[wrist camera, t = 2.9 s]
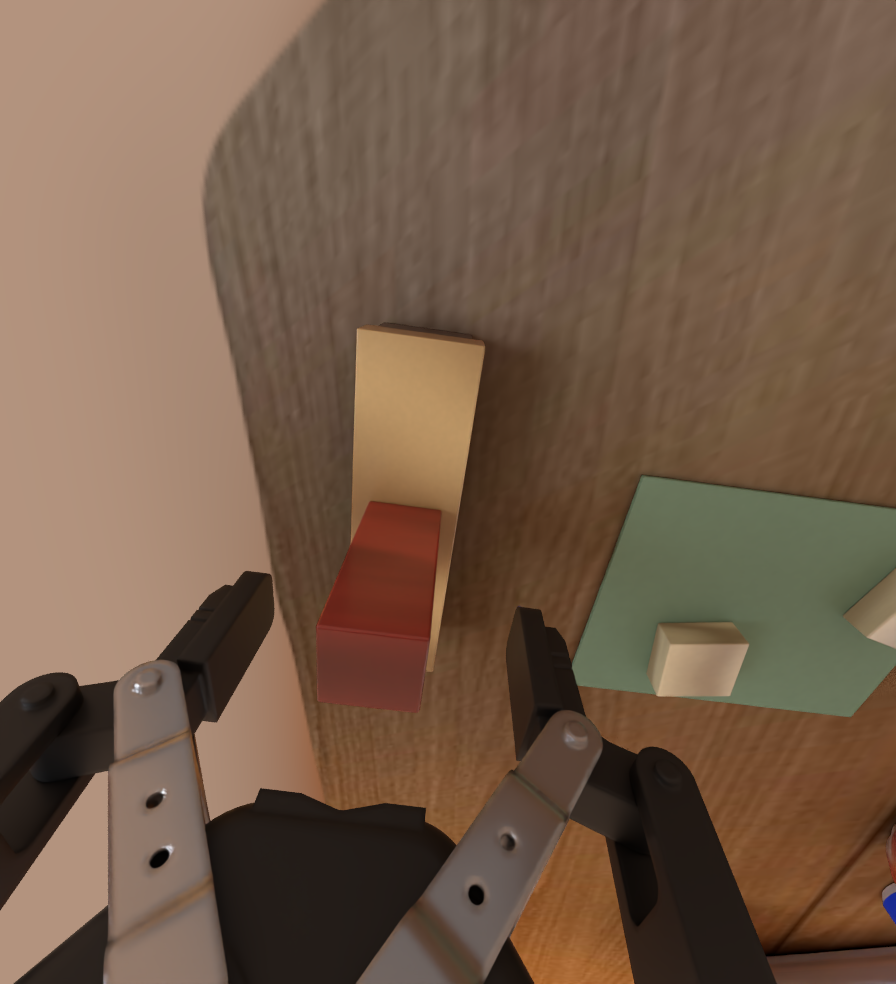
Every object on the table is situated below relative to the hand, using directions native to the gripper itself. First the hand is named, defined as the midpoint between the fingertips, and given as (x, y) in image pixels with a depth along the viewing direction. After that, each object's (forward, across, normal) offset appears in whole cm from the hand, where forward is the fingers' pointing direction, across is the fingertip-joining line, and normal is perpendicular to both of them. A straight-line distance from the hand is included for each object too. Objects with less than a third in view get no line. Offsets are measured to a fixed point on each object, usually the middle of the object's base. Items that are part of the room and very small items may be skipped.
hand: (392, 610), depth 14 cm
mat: (+8, -19, +4) cm, 21 cm away
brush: (+8, 0, 0) cm, 8 cm away
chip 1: (+8, -16, +7) cm, 19 cm away
